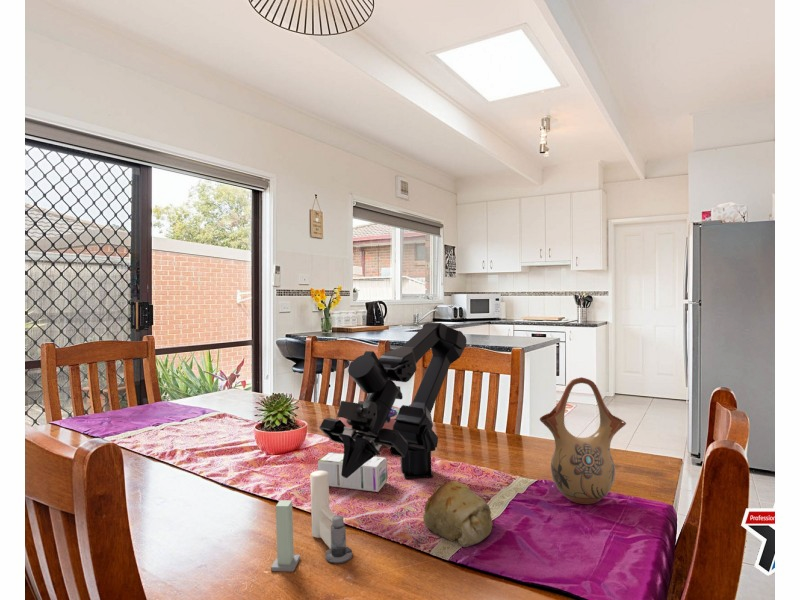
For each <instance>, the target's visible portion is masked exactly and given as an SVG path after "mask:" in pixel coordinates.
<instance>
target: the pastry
mask: <svg viewBox="0 0 800 600" xmlns="http://www.w3.org/2000/svg"><path fill="white" fill-rule="evenodd" d="M491 511H492V510H491V508H490V506H489V504H488V503H487V501H485V499H484V498H482V497H481V496H480V495H477V494H476V493H475V492H474V491H473V490H472V489H471V488H470V487H469V485H467V484H465V483H462V482H459V481H457V480H454V479H452V480H450V481H445V482H444V483H443V484H438V485H437V487H436V489H435V491H433V493H432V494H431V495H430V497H428V498H427V500H426V502H425V504H424V513H423V515H422V516H423V517H422V519H423V523H424V525H425V526H426V528H427V529H428V530H430V531H431V530H432V531H431V532H432V533H434V534H435V535H436V534H438V535H437V536H438V537H441V538H444V539H446V540H448V541H450V540H452V541H451V542H454V541H455V543H458V546H461V547H462V546H463V548H469V547H471V546H473V545H477V544H479V543H481V542H482V541H484V540H485V539H487V537H488V536H489V535H491V533H492V528H493V517H492V515H491V514H492V512H491Z"/></svg>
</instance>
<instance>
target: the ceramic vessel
mask: <svg viewBox="0 0 800 600" xmlns="http://www.w3.org/2000/svg"><path fill="white" fill-rule="evenodd" d="M578 384H579V385H580V384H585V385H588V386H589V387H590V388H591V390H592V392H593V395H594V397H595V400H596V403H597V407H598V411H599V412H598V413H599V426H598V429H597V430H596V431H595V432H594V433H593V434H592V435H590V436H586V437H579V436H575V435H573V434H572V433H571V432H570V431H569V430H568V429H567V428H566V425H565V413H566V407H567V403H568V399H569V397H570V394H571V391H572V389H573V388H574V386H576V385H578ZM539 421H540V422H541V423H542V424H543V425H544V426H545V427H547V429H548V430H549V431H550V432H551V434H552V436H553V439H554V451H553V453H552V456H551V459H550V460H551V461H550V472H551V477H552V480H553V482H554V484H555V486H556V488H557V489H558V491H559V492H560V493H561V494H562V495H563V496H564V497H565V498H566V499H568V500H569V501H571V502H573V503H576V504H579V505H592V504H596V503H598V502H600V501H602V499H604V498H605V497H607V495H608V494H609V493H610V492H611V490H612V488H613V485H614V481H615V478H616V477H615V476H616V467H615V463H614V459H613V456H612V454H611V442H612V440H613V438H614V437H615V435H616V434H617V432H619V431H620V430H621V429H622V428H624V427H625V426H626V425H627V422H625V420H623V419H621V418H619V417H618V416H615V415H614V414H612V412H611V411H610V410H609V409H608V408H607V406H606V404H605V402H604V400H603V397H602V394H601V393H600V389H599V387H598V386H597V384H596V383H595V382H594V381H593V380H591V379H589V378H586V377H578V378H577V377H576V378H574V379H572V380H570V381H569V382H568V384H567V385H566V387H565V389H564V391H563V394H562V396H561V397H560V400H559V401H558V403H557V404H556V406H554V408H552V410H551V411H550V412H549V413H546V414H544V415H542V416H541V417H540V418H539Z"/></svg>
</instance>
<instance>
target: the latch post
mask: <svg viewBox="0 0 800 600" xmlns="http://www.w3.org/2000/svg"><path fill="white" fill-rule="evenodd" d="M293 517H294V515H293V500H292V499H291V500H289V499H287V500H285V499H280V500H279V501H278V502H277V504H276V505H275V521H276V522H275V524H276V525H275V526H276V530H275V531H276V558H275V559H274V561H273V563H272V564H271V566H270V571H271V572H289V573H291V572H294V571H295V569H296V568H297V565H298V563H299V561H300V560H301V554H295V553H294V523H293V522H294V521H293Z"/></svg>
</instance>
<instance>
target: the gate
mask: <svg viewBox="0 0 800 600" xmlns="http://www.w3.org/2000/svg"><path fill="white" fill-rule="evenodd" d="M309 478H310V507H311V509H310V511H311V514H310V515H311V535H312V537H314V538H317V539H322V541H323V542H324V544H325V545H326V546H327V547H328V549H331V525H333V527H334V528H340V527H342V526H343V525H344V524H345V523H344V516H343V515H341V514H339V515H336V514H335V512H334V511H333V510H332V509H330V486H329V473H328V472H327V471H318V470H315V471H313V472H311V473H310V477H309Z"/></svg>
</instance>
